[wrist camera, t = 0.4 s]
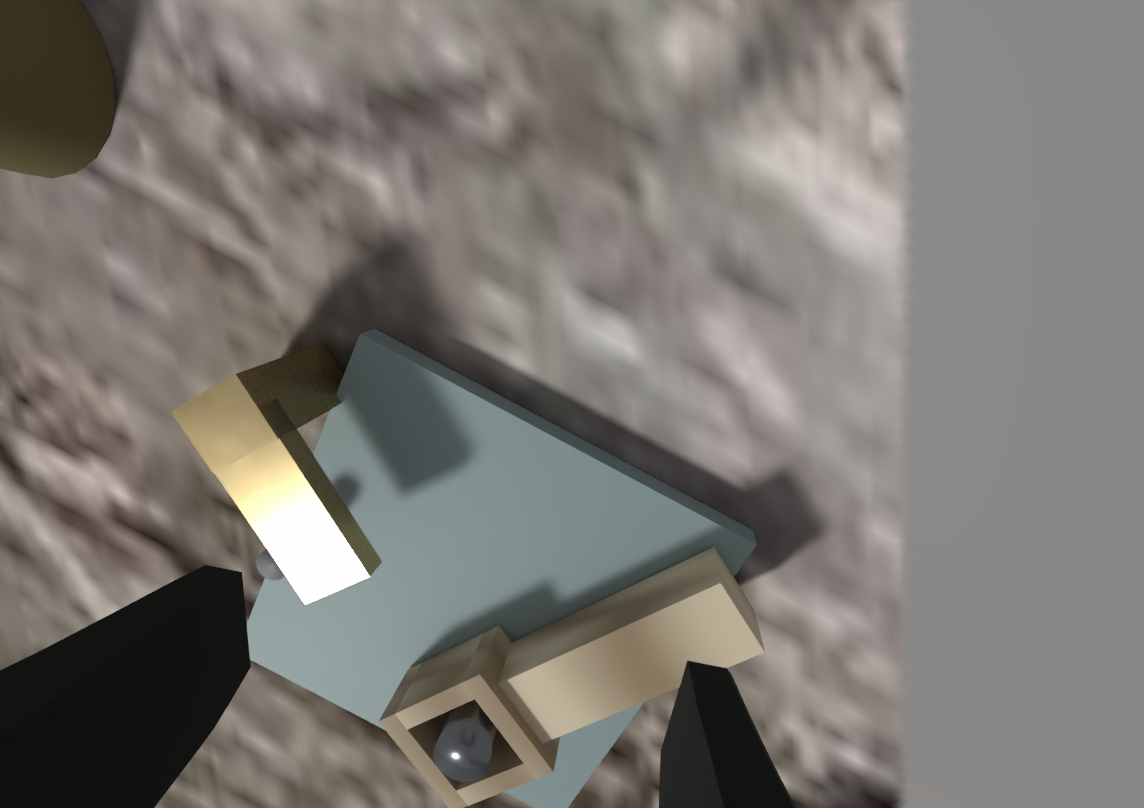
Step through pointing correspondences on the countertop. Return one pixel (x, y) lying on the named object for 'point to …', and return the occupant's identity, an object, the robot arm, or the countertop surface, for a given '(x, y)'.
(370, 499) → the base board
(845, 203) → the countertop surface
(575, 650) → the link
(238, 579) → the robot arm
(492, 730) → the cylinder
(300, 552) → the keeper
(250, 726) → the countertop surface
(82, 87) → the pepper mill
